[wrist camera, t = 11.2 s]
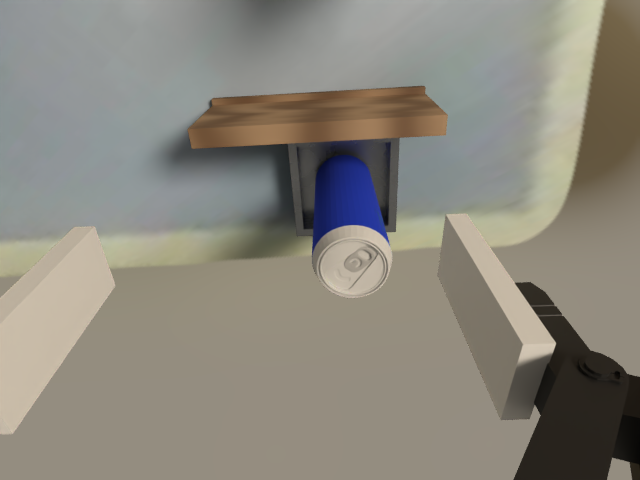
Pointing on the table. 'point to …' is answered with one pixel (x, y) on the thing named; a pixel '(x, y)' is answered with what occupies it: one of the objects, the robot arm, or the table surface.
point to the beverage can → (348, 230)
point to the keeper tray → (372, 152)
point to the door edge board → (318, 117)
